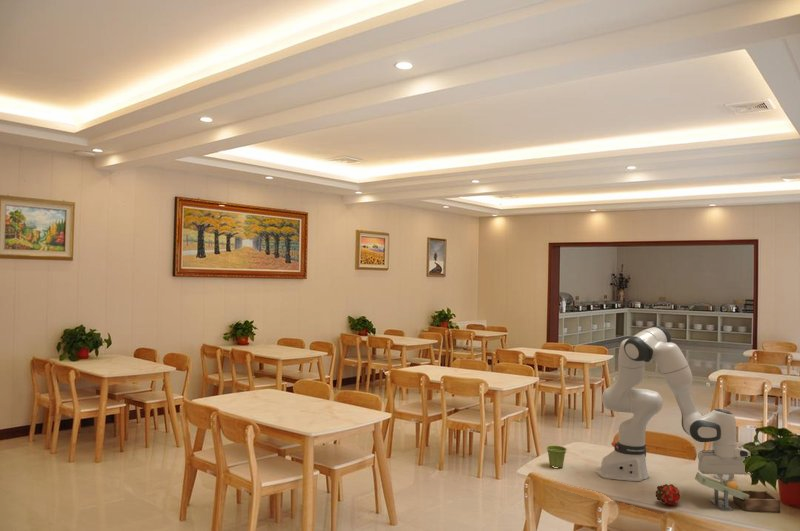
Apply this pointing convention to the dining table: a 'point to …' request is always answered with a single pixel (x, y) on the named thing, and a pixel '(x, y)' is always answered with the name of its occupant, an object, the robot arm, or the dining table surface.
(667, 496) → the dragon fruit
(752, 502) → the tray
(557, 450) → the plant pot
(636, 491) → the dining table surface
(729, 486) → the ball
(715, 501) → the fulcrum
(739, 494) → the lever
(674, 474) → the dining table surface
